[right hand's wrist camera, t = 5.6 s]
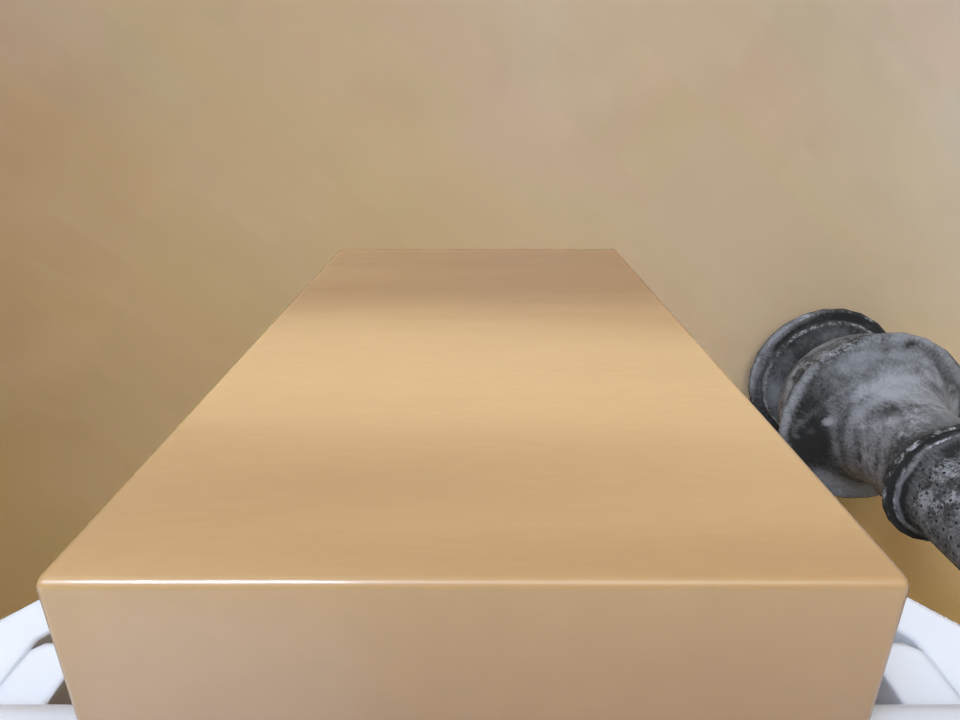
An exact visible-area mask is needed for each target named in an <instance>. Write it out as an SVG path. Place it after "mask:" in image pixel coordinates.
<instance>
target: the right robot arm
mask: <svg viewBox="0 0 960 720" xmlns="http://www.w3.org/2000/svg"><path fill="white" fill-rule="evenodd" d="M0 720H77V718H76V715H75V712H74V708H73V705H72V702H71V699H70V696H69V692H68V689H67V686H66V683H65V679H64V676H63V673H62V670H61V667H60V663H59V660H58V657H57V654H56V651H55V647H54V644H53V641H52V638H51V634H50V631H49V628H48V625H47V622H46V618H45V615H44V612H43V609H42V606H41V602H40V600H38V601H36V602H34V603H32V604H30V605H28V606H26V607H24V608H22V609H21V610H19V611H17V612H15V613H13V614H11V615H9V616H7V617H5V618H3V619H1V620H0ZM870 720H960V625H959V624H957V623H955V622H954V621H952V620H950V619H948V618H946V617H944V616H942V615H940V614H938V613H936V612H935V611H933V610H931V609H929V608H927V607H925V606H923V605H921V604H919V603H918V602H916V601H914V600H912V599H910V598H908V597H907V599H906V602H905V605H904V608H903V612H902V615H901V618H900V622H899V625H898V628H897V632H896V635H895V638H894V642H893V645H892V648H891V652H890V655H889V658H888V662H887V665H886V668H885V672H884V675H883V678H882V681H881V685H880V688H879V691H878V695H877V698H876V701H875V705H874V708H873V711H872V715H871V718H870Z"/></svg>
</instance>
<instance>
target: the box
mask: <svg viewBox="0 0 960 720" xmlns="http://www.w3.org/2000/svg"><path fill="white" fill-rule="evenodd" d="M36 590H37V593H38V596H39V599H40V602H41V606H42V609H43V612H44V615H45V618H46V622H47V625H48V628H49V631H50V634H51V638H52V641H53V644H54V647H55V651H56V654H57V657H58V660H59V663H60V667H61V670H62V673H63V676H64V679H65V683H66V686H67V689H68V692H69V696H70V699H71V702H72V705H73V708H74V712H75V715H76V718H77V720H870V718H871V715H872V711H873V708H874V705H875V701H876V698H877V695H878V691H879V688H880V685H881V681H882V678H883V675H884V672H885V668H886V665H887V662H888V658H889V655H890V652H891V648H892V645H893V642H894V638H895V635H896V632H897V628H898V625H899V622H900V618H901V615H902V612H903V608H904V605H905V602H906V599H907V595H908V592H909V582H908V580H907V577H906V576H905V575H904V574H903V573H902V571H901V570H900V569H899V568H898V567H897V566H896V565H895V564H894V562H893V561H892V560H891V559H890V558H889V557H888V556H887V555H886V553H885V552H884V551H883V550H882V549H881V548H880V547H879V546H878V544H877V543H876V542H875V541H874V540H873V539H872V538H871V537H870V536H869V534H868V533H867V532H866V531H865V530H864V529H863V528H862V527H861V525H860V524H859V523H858V522H857V521H856V520H855V519H854V518H853V516H852V515H851V514H850V513H849V512H848V511H847V510H846V509H845V507H844V506H843V505H842V504H841V503H840V502H839V501H838V500H837V498H836V497H835V496H834V495H833V494H832V493H831V492H830V491H829V489H828V488H827V487H826V486H825V485H824V484H823V483H822V482H821V480H820V479H819V478H818V477H817V476H816V475H815V474H814V473H813V471H812V470H811V469H810V468H809V467H808V466H807V465H806V464H805V462H804V461H803V460H802V459H801V458H800V457H799V456H798V455H797V453H796V452H795V451H794V450H793V449H792V448H791V447H790V446H789V445H788V443H787V442H786V441H785V440H784V439H783V438H782V437H781V436H780V434H779V433H778V432H777V431H776V430H775V429H774V428H773V427H772V425H771V424H770V423H769V422H768V421H767V420H766V419H765V418H764V416H763V415H762V414H761V413H760V412H759V411H758V410H757V409H756V407H755V406H754V405H753V404H752V403H751V402H750V401H749V400H748V398H747V397H746V396H745V395H744V394H743V393H742V392H741V391H740V389H739V388H738V387H737V386H736V385H735V384H734V383H733V382H732V380H731V379H730V378H729V377H728V376H727V375H726V374H725V373H724V371H723V370H722V369H721V368H720V367H719V366H718V365H717V364H716V362H715V361H714V360H713V359H712V358H711V357H710V356H709V355H708V353H707V352H706V351H705V350H704V349H703V348H702V347H701V346H700V345H699V343H698V342H697V341H696V340H695V339H694V338H693V337H692V336H691V334H690V333H689V332H688V331H687V330H686V329H685V328H684V327H683V325H682V324H681V323H680V322H679V321H678V320H677V319H676V318H675V316H674V315H673V314H672V313H671V312H670V311H669V310H668V309H667V307H666V306H665V305H664V304H663V303H662V302H661V301H660V300H659V298H658V297H657V296H656V295H655V294H654V293H653V292H652V291H651V289H650V288H649V287H648V286H647V285H646V284H645V283H644V282H643V280H642V279H641V278H640V277H639V276H638V275H637V274H636V273H635V271H634V270H633V269H632V268H631V267H630V266H629V265H628V264H627V262H626V261H625V260H624V259H623V258H622V257H621V256H620V255H619V253H618V252H617V251H616V250H614V249H342V250H340V251H339V252H338V253H337V254H336V255H335V256H334V257H333V258H332V259H331V260H330V262H329V263H328V264H327V265H326V266H325V267H324V268H323V269H322V270H321V271H320V272H319V274H318V275H317V276H316V277H315V278H314V279H313V280H312V281H311V282H310V283H309V284H308V285H307V287H306V288H305V289H304V290H303V291H302V292H301V293H300V294H299V295H298V296H297V297H296V299H295V300H294V301H293V302H292V303H291V304H290V305H289V306H288V307H287V308H286V309H285V310H284V312H283V313H282V314H281V315H280V316H279V317H278V318H277V319H276V320H275V321H274V322H273V324H272V325H271V326H270V327H269V328H268V329H267V330H266V331H265V332H264V333H263V334H262V335H261V337H260V338H259V339H258V340H257V341H256V342H255V343H254V344H253V345H252V346H251V347H250V349H249V350H248V351H247V352H246V353H245V354H244V355H243V356H242V357H241V358H240V359H239V360H238V362H237V363H236V364H235V365H234V366H233V367H232V368H231V369H230V370H229V371H228V372H227V374H226V375H225V376H224V377H223V378H222V379H221V380H220V381H219V382H218V383H217V384H216V385H215V387H214V388H213V389H212V390H211V391H210V392H209V393H208V394H207V395H206V396H205V397H204V399H203V400H202V401H201V402H200V403H199V404H198V405H197V406H196V407H195V408H194V409H193V410H192V412H191V413H190V414H189V415H188V416H187V417H186V418H185V419H184V420H183V421H182V422H181V424H180V425H179V426H178V427H177V428H176V429H175V430H174V431H173V432H172V433H171V434H170V435H169V437H168V438H167V439H166V440H165V441H164V442H163V443H162V444H161V445H160V446H159V447H158V449H157V450H156V451H155V452H154V453H153V454H152V455H151V456H150V457H149V458H148V459H147V460H146V462H145V463H144V464H143V465H142V466H141V467H140V468H139V469H138V470H137V471H136V472H135V474H134V475H133V476H132V477H131V478H130V479H129V480H128V481H127V482H126V483H125V484H124V486H123V487H122V488H121V489H120V490H119V491H118V492H117V493H116V494H115V495H114V496H113V497H112V499H111V500H110V501H109V502H108V503H107V504H106V505H105V506H104V507H103V508H102V509H101V511H100V512H99V513H98V514H97V515H96V516H95V517H94V518H93V519H92V520H91V521H90V522H89V524H88V525H87V526H86V527H85V528H84V529H83V530H82V531H81V532H80V533H79V534H78V536H77V537H76V538H75V539H74V540H73V541H72V542H71V543H70V544H69V545H68V546H67V547H66V549H65V550H64V551H63V552H62V553H61V554H60V555H59V556H58V557H57V558H56V559H55V561H54V562H53V563H52V564H51V565H50V566H49V567H48V568H47V569H46V570H45V571H44V572H43V574H42V575H41V576H40V577H39V579H38V581H37V587H36Z"/></svg>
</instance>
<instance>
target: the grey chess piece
mask: <svg viewBox="0 0 960 720" xmlns="http://www.w3.org/2000/svg"><path fill="white" fill-rule="evenodd" d="M748 387H749V394H750V400H751V403H752V404H753V405H754V406H755V407H756V409H757V410H758V411H759V412H760V413H761V414H762V415H763V416H764V418H765V419H766V420H767V421H768V422H769V423H770V424H771V425H772V427H773V428H774V429H775V430H776V431H777V432H778V433H779V434H780V436H781V437H782V438H783V439H784V440H785V441H786V442H787V443H788V445H789V446H790V447H791V448H792V449H793V450H794V451H795V452H796V453H797V455H798V456H799V457H800V458H801V459H802V460H803V461H804V462H805V464H806V465H807V466H808V467H809V468H810V469H811V470H812V471H813V473H814V474H815V475H816V476H817V477H818V478H819V479H820V480H821V482H822V483H823V484H824V485H825V486H826V487H827V488H828V489H829V491H830V492H831V493H832V494H833V495H834V496H838V497H843V498H868V497H873V496H877V495H880V496H881V497H882V505H883V509H884V511H885V513H886V516H887V518H888V520H889V521H890V522H891V523H892V524H893V525H894V526H895V527H896V528H897V529H898V530H899V531H900V532H902V533H904V534H906V535H908V536H910V537H912V538H915V539H920V540H925V541H931V542H932V543H933V544H934V545H935V546H936V547H937V548H938V549H939V550H940V551H941V552H942V553H943V554H944V555H945V556H946V557H947V558H948V559H949V560H950V561H951V562H952V563H953V564H954V565H955V566H956V567H957V568H958V569H959V570H960V365H959V364H958V363H957V362H956V361H955V360H954V358H953V357H952V356H951V355H950V354H949V352H948V351H947V350H945V349H943V348H942V347H940V346H938V345H937V344H935V343H933V342H932V341H930V340H928V339H926V338H923V337H919V336H915V335H911V334H907V333H886V332H885V331H884V330H883V329H882V328H881V326H880V325H879V324H878V323H876V322H875V321H873V320H871V319H870V318H868V317H866V316H865V315H863V314H861V313H858V312H854V311H850V310H846V309H822V310H818V311H815V312H811V313H807V314H803V315H801V316H800V317H798V318H796V319H794V320H792V321H790V322H788V323H786V324H785V325H783V326H782V327H781V328H780V329H779V330H777V331H776V332H775V333H774V334H773V335H772V336H770V337H769V339H768V340H767V341H766V343H765V344H764V345H763V347H762V348H761V349H760V351H759V352H758V354H757V356H756V359H755V361H754V363H753V366H752V368H751V372H750V379H749V386H748Z"/></svg>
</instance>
